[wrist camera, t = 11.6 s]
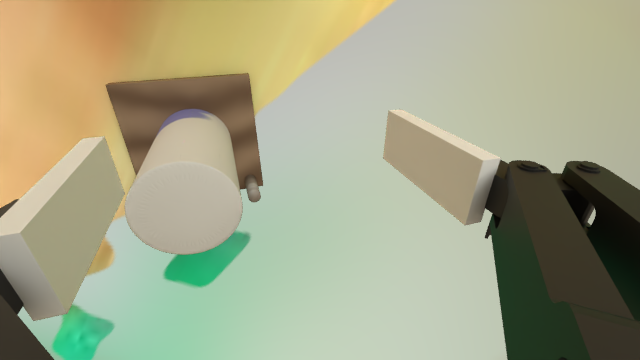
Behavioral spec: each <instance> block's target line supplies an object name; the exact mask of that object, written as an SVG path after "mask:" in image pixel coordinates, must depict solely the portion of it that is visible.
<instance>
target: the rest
mask: <svg viewBox="0 0 640 360" xmlns="http://www.w3.org/2000/svg"><path fill="white" fill-rule="evenodd" d="M106 88H107V91H108V94H109V97H110V100H111V102H112V105H113V108H114V111H115V114H116V117H117V120H118V123H119V126H120V129H121V132H122V135H123V138H124V140H125V143H126V146H127V149H128V152H129V155H130V158H131V161H132V164H133V167H134V170H135V173H136V176H137V174H138V172H139V170H140V168H141V166H142V164H143V162H144V160H145V158H146V156H147V154H148V152H149V150H150V148H151V146H152V144H153V142H154V140H155V138H156V136H157V134H158V132H159V130H160V128H161V126H162V124H163V122H164V121H165V120H166V119H167V118H168V117H169V116H171V115H172V114H174V113H176V112H178V111H181V110H185V109H200V110H204V111H207V112H209V113H212V114H213V115H215V116H216V117H218V118H219V119H220V120H221V121H222V122H223V123H224V124H225V126H226V127H227V129H228V131H229V133H230V137H231V142H232V148H233V154H234V159H235V165H236V170H237V176H238V182H239V187H240V189H247V193H248V198H249V200H250V201H251V202H257V201H259V200H260V198H261V196H260V192H259V188H258V186H263V180H262V172H261V165H260V157H259V150H258V142H257V133H256V126H255V118H254V110H253V102H252V95H251V87H250V79H249V74H248V73H244V74H230V75H216V76H202V77H188V78H174V79H160V80H146V81H132V82H118V83H108V84H107V85H106Z"/></svg>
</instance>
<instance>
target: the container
mask: <svg viewBox="0 0 640 360" xmlns="http://www.w3.org/2000/svg"><path fill="white" fill-rule="evenodd" d="M242 209H243V207H242V199H241V193H240V187H239V182H238V176H237V170H236V165H235V159H234V154H233V148H232V142H231V137H230V133H229V131H228V129H227V127H226V126H225V124H224V123H223V122H222V121H221V120H220V119H219V118H218V117H216V116H215V115H213V114H212V113H209V112H207V111H204V110H200V109H185V110H181V111H178V112H176V113H174V114H172V115H171V116H169V117H168V118H167V119H166V120H165V121H164V122H163V124H162V126H161V128H160V130H159V132H158V134H157V136H156V138H155V140H154V142H153V144H152V146H151V148H150V150H149V152H148V154H147V156H146V158H145V160H144V162H143V164H142V166H141V168H140V170H139V172H138V174H137V176H136V178H135V180H134V182H133V184H132V186H131V188H130V190H129V192H128V195H127V197H126V202H125V215H126V219H127V222H128V224H129V226H130V228H131V230H132V231H133V232H134V234H135V235H136V236H137V237H138V238H139V239H140V240H142V241H143V242H144V243H145V244H147V245H149V246H151V247H152V248H155V249H157V250H160V251H163V252H166V253H171V254H195V253H200V252H204V251H207V250H210V249H212V248H214V247H216V246H218V245H220V244H221V243H223V242H224V241H225V240H227V239H228V238H229V237H230V236H231V235H232V234H233V232H234V231H235V230H236V228H237V226H238V224H239V222H240V220H241V216H242Z"/></svg>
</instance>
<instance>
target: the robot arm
mask: <svg viewBox="0 0 640 360" xmlns="http://www.w3.org/2000/svg"><path fill="white" fill-rule="evenodd" d="M383 158H384V159H385V160H386V161H387V162H388V163H390V164H391V165H392V166H393V167H395V168H396V169H397V170H398V171H399V172H401V173H402V174H403V175H404V176H405V177H407V178H408V179H409V180H410V181H412V182H413V183H414V184H415V185H417V186H418V187H419V188H420V189H421V190H423V191H424V192H425V193H426V194H427V195H429V196H430V197H431V198H432V199H434V200H435V201H436V202H437V203H438V204H440V205H441V206H442V207H443V208H444V209H446V210H447V211H448V212H449V213H450V214H452V215H453V216H454V217H456V218H457V219H458V220H459V221H460V222H462V223H463V224H464V225H469V224H473V223H478V222H481V220H482V216H483V213H484V210H485V208H486V209H487V210H489V211H490V212H492V213H493V214H492V217H491V220H490V223H489V226H488V229H487V232H486V235H485V238H488V237H489V235H491V236H492V243H493V250H494V259H495V266H496V274H497V282H498V289H499V297H500V305H501V313H502V320H503V328H504V335H505V343H506V351H507V359H508V360H640V190H638V189H637V188H635V187H634V186H632V185H631V184H629V183H628V182H626V181H625V180H623V179H622V178H620V177H619V176H617V175H615V174H614V173H612V172H611V171H609V170H608V169H606V168H604V167H602V166H599V165H597V164H596V163H592V162H588V161H582V162H581V161H570V162H567V163H566V166H565V168H564V171H563V173H562V174H557V173H551V171H550V170H549V169H548V168H546V167H545V166H542V165H540V164H538V163H535V162H532V161H521V160H519V161H518V160H517V161H511V162H509V164H508V163H506V162H504V161H502V160H500V159H501V158H500V157H498V156H496V155H494V154H491V153H490V152H487V151H485V150H483V149H481V148H479V147H477V146H475V145H473V144H471V143H469V142H467V141H465V140H463V139H461V138H459V137H457V136H455V135H453V134H451V133H448V132H446V131H444V130H442V129H440V128H438V127H436V126H434V125H432V124H430V123H428V122H426V121H424V120H422V119H420V118H418V117H416V116H414V115H412V114H409V113H407V112H405V111H403V110H389V111H388V119H387V128H386V137H385V146H384V155H383ZM124 195H125V193H124V190H123V187H122V184H121V181H120V179H119V176H118V173H117V170H116V167H115V164H114V162H113V159H112V156H111V153H110V150H109V148H108V145H107V142H106V139H105V136H103V137H92V138H83V139H82V140H81V141H80V142H79V143H78V144H77V145H76V146H74V147H73V148H72V149H71V150H70V151H69V152H68V153H67V154H66V155H65V156H64V157H63V158H62V159H61V160H60V161H59V162H58V163H57V164H56V165H55V166H54V167H53V168H52V169H51V170H49V171H48V172H47V173H46V174H45V175H44V176H43V177H42V178H41V179H40V180H39V181H38V182H37V183H36V184H35V185H34V186H33V187H32V188H31V189H30V190H29V191H28V192H27V193H26V194H24V195H23V196H22V197H21V198H20V199H17V200H14V201H13V202H11V203H9V204H7V205H5V206H4V207H2V208H0V360H54V359H53V358H52V356H50V354H49V353H48V352H47V350H45V348H44V347H43V346H42V345H41V343H40V342H39V341H38V340H37V338H36V337H35V336H34V335H33V333H32V332H31V331H30V330H29V329H28V327H27V326H26V325H25V324H24V323H23V321H22V320H21V319H20V318H19V317H18V315H17V314H18V313H19V311H20V310H21V308H22V307H24V308H25V310H26V311H27V312H28V314H29V315H30V317H31V318H32V320H33V321H36V320H41V319H45V318H50V317H54V316H59V315H63V314H67V313H68V311H69V309H70V307H71V305H72V303H73V301H74V299H75V297H76V294H77V292H78V290H79V288H80V286H81V284H82V282H83V280H84V278H85V276H86V274H87V272H88V269H89V267H90V265H91V263H92V261H93V259H94V257H95V255H96V253H97V251H98V249H99V247H100V245H101V242H102V240H103V238H104V236H105V234H106V232H107V230H108V228H109V226H110V224H111V222H112V220H113V217H114V215H115V213H116V211H117V209H118V207H119V205H120V203H121V201H122V199H123V197H124ZM594 208H595V210H596V216H595V219H594V221H593V223H592V225H590V224H589V223H588V222H587V221H588V219H589V218H590V216H591V214H592V212H593V210H594Z"/></svg>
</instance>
